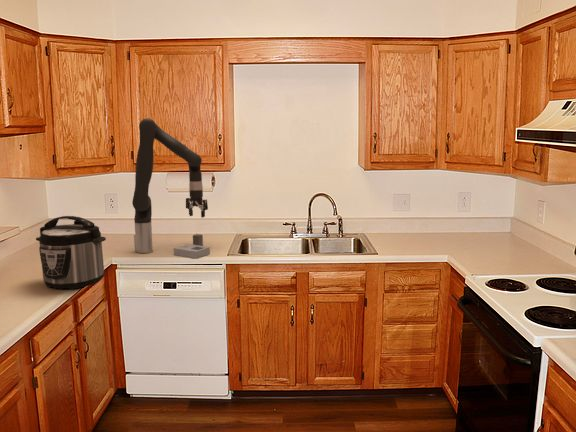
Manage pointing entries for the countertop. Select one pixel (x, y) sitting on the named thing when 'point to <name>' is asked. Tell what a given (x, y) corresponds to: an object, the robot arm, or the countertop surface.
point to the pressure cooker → (71, 253)
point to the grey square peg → (198, 239)
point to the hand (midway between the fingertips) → (197, 216)
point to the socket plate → (191, 251)
